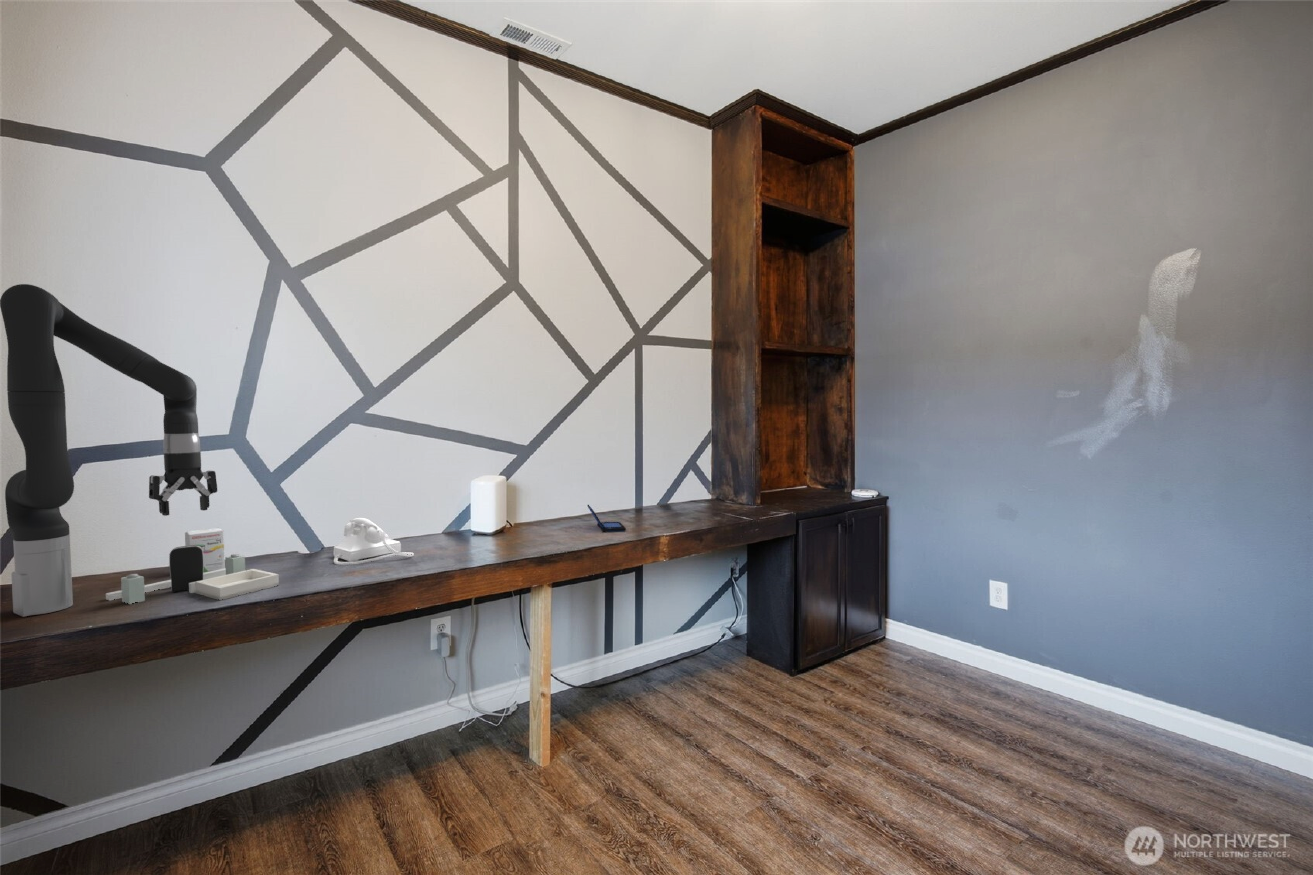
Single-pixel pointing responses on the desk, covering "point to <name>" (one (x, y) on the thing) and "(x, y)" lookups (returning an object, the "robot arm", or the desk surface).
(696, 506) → the desk surface
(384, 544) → the telephone
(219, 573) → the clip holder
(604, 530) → the handheld game console
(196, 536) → the ink box
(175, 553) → the black rounded upright slab
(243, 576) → the tray
